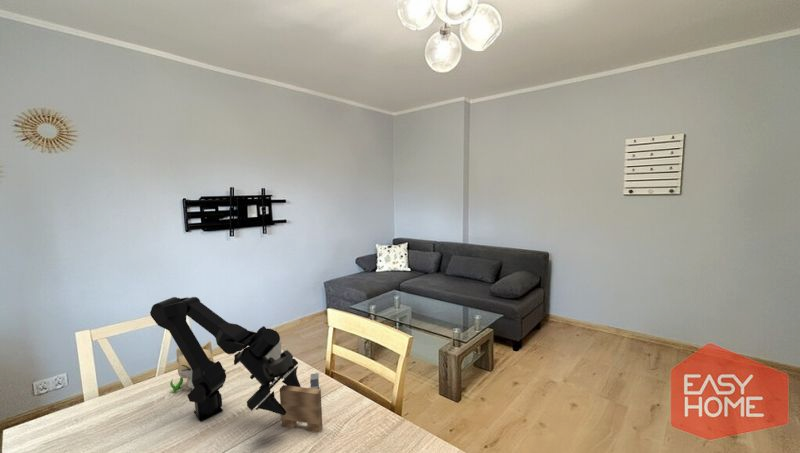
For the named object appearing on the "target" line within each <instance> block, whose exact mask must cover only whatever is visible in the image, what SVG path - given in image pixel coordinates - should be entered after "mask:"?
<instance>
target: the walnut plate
mask: <svg viewBox="0 0 800 453" xmlns="http://www.w3.org/2000/svg"><path fill="white" fill-rule="evenodd" d="M279 401H280V402H279V403H280V404H281V406H282V407H283V408H284V409H285V411H286V414H285V415H281V414H280V416H281V417H280V418H281V427H282V428H286V429H287V428H289V429H295V427H296V426H297V425H298V422H299V423H306V427H307V428H306V430H307V431H308V432H313V433H321V431H322V429H323V412H322V390H321V389H311V387H302V386H301V387H296V386H288V385H286V384H282V386H281V387H280V388H279Z"/></svg>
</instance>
